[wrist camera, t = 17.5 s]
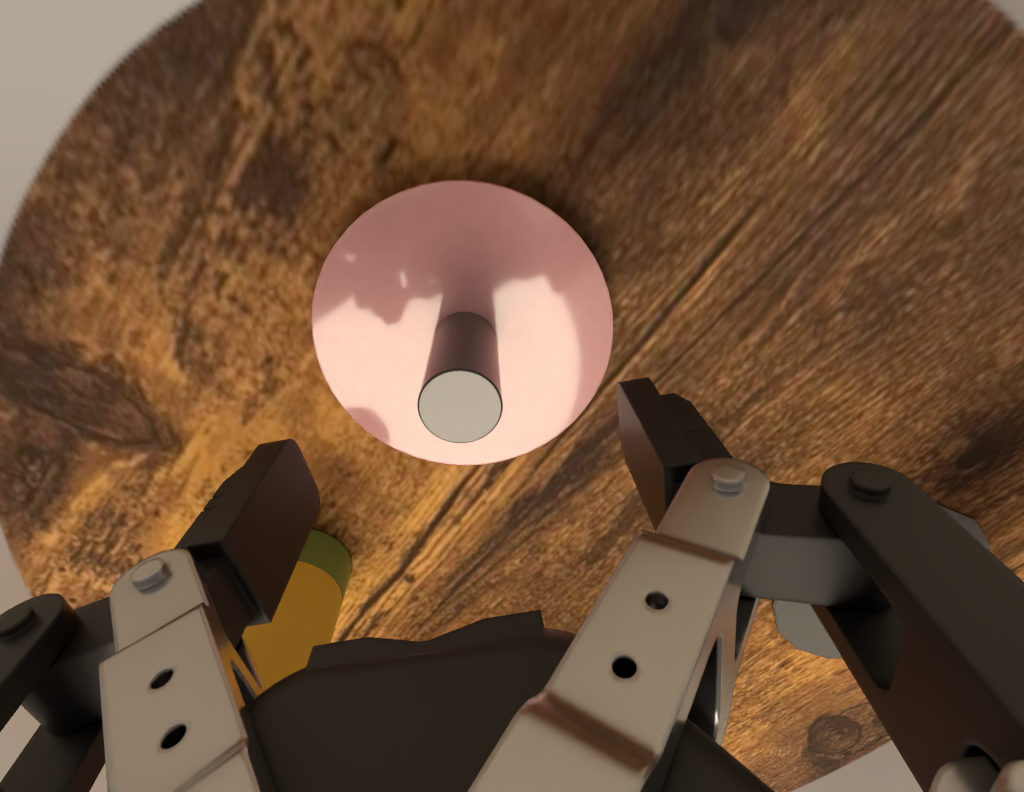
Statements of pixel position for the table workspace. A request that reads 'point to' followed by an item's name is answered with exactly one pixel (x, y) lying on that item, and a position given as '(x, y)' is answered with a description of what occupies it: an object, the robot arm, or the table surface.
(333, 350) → the lid
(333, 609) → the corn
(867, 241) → the table surface
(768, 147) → the table surface
